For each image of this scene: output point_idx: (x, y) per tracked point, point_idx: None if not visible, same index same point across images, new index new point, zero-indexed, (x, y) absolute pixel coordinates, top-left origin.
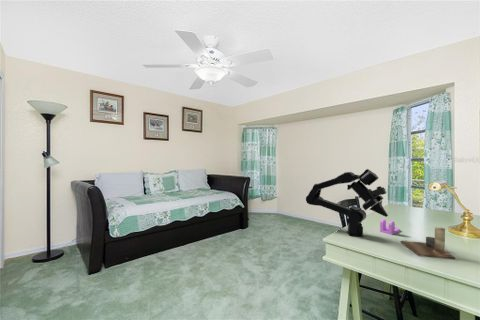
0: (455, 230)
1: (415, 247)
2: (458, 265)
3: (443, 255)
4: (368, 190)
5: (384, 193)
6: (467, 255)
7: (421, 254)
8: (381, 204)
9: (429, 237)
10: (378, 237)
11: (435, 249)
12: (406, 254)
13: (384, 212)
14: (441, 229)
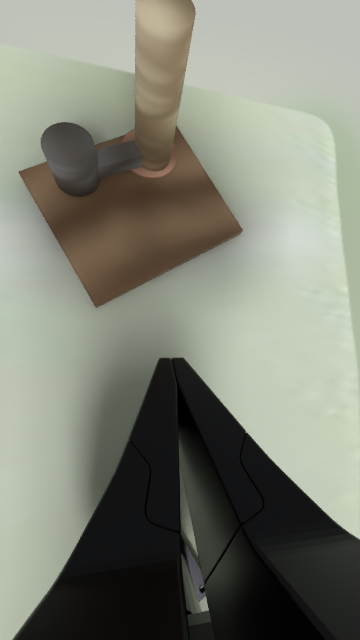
0: None
1: (161, 239)
2: (230, 129)
3: (184, 151)
4: None
5: None
6: (77, 79)
7: (234, 220)
8: (106, 586)
9: (59, 149)
10: (91, 426)
11: (165, 162)
12: (262, 271)
13: (213, 400)
14: (193, 8)
